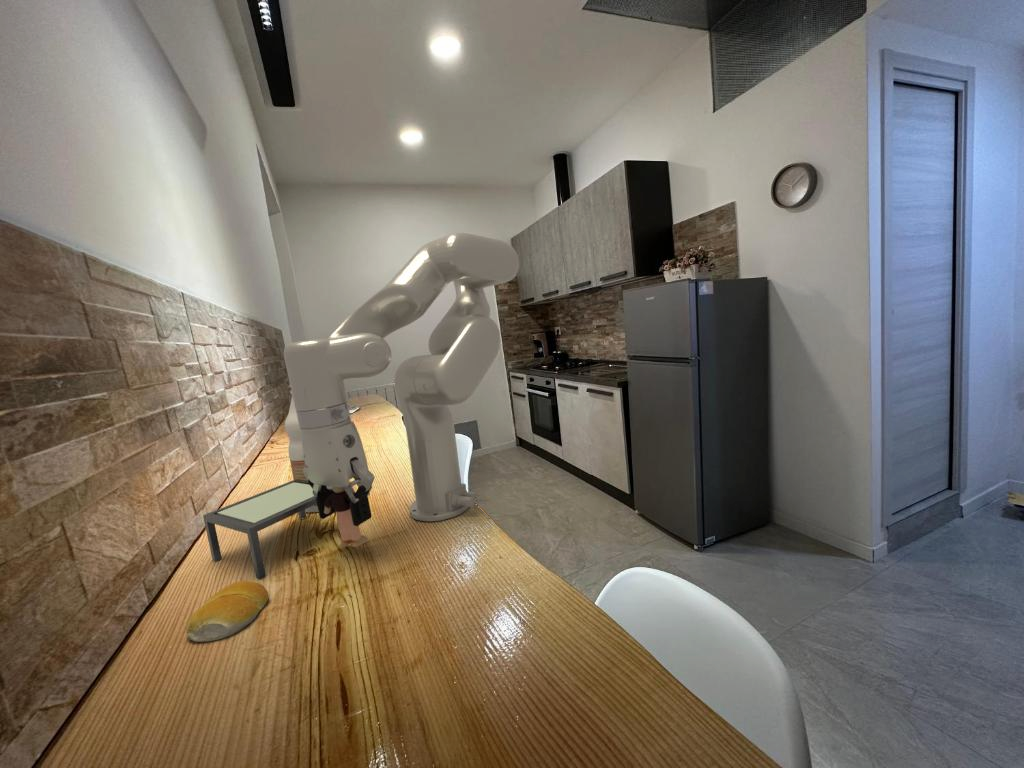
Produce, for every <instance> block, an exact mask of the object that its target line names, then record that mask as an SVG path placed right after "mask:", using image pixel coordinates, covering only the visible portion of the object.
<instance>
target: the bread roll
mask: <svg viewBox="0 0 1024 768" xmlns="http://www.w3.org/2000/svg"><path fill="white" fill-rule="evenodd" d="M268 600H269V592H268V590H267V589H266V587H265V586H264V585H263V584H262V583H260V582H258V581H254V580H241V581H238V582H233V583H230V584H228V585H227V586H225V587H223V588H221V589H220V590H219V591H217V592H215V593H213V594H212V595H211V596H210V597H208V598H207V599H206V601H204V602H203V604H202V605H201V606H200V608H198V609H197V610H196V611H195V612H194V613H193V614H192V615H191V616H190V618H189V620H188V622H187V626H186V631H185V632H186V636H187V638H188V639H189V640H191V641H193V642H195V643H204V642H205V643H206V642H214V641H219V640H222V639H226V638H228V637H230V636H232V635H234V634H236V633H237V632H239V631H240V630H242V629H244V628H245V627H246V626H248V625H249V624H250V623H251V622H253V620H255V618H256V617H257V615H259V612H260V611H262V609H263V608H264V607H265V605H266V604H267V602H268Z"/></svg>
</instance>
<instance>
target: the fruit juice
mask: <svg viewBox="0 0 1024 768" xmlns="http://www.w3.org/2000/svg"><path fill="white" fill-rule="evenodd" d="M288 390H289V393H290V395H291V399H290V405H289V409H288V414H287V416H286V418H285V421H284V431H285V433H286V435H287V437H288V438H289V443H288V449H287V450H288V458H289V461H290V462H289V463H290V468H291V472H292V473H291V474H292V478H293V480H295V479H300V480H307V478H306V477H305V475H304V473H303V469H304V468H305V466H306V465H305V460H304V454H303V447H302V436H301V431H300V427H299V422H298V418H297V413H296V409H295V404H294V400H293V395H292V391H291V386H290V385H288ZM307 481H308V480H307ZM305 512H308V513H307V514H310V513H309V512H313V513H319V512H318V506H314V505H313V506H311V507H309V508H307V509H305Z"/></svg>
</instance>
